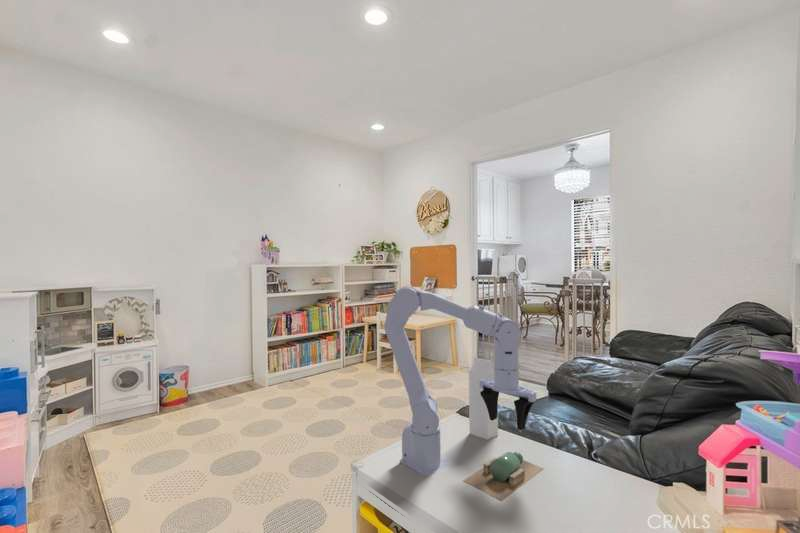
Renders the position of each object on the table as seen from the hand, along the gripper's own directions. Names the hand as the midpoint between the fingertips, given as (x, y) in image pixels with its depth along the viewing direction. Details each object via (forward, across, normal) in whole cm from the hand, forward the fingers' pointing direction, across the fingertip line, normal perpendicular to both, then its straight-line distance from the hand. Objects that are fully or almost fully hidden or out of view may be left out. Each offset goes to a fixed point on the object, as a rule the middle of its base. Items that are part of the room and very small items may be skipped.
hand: (506, 423), depth 91 cm
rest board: (+10, -2, +4) cm, 12 cm away
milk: (+11, +14, -10) cm, 20 cm away
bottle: (+8, -2, +8) cm, 11 cm away
